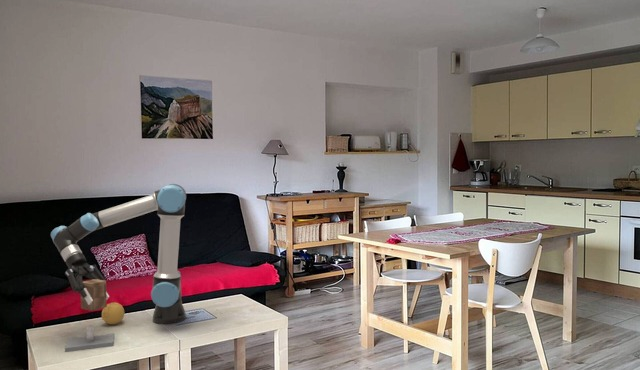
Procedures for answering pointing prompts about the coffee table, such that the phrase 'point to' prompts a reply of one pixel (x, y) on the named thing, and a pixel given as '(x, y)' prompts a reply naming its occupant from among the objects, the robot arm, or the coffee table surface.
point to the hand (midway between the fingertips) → (99, 300)
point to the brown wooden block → (94, 294)
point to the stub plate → (89, 341)
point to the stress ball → (113, 313)
